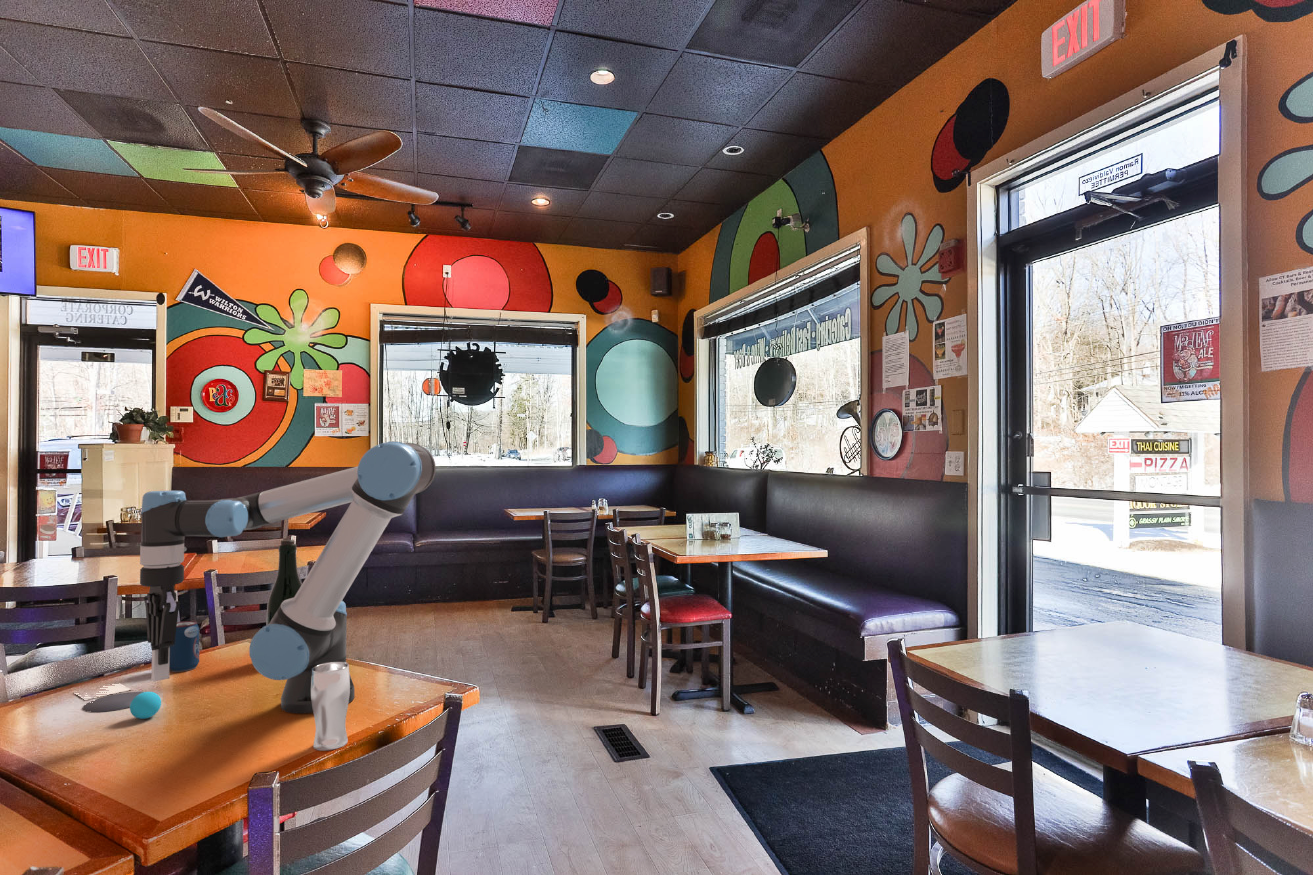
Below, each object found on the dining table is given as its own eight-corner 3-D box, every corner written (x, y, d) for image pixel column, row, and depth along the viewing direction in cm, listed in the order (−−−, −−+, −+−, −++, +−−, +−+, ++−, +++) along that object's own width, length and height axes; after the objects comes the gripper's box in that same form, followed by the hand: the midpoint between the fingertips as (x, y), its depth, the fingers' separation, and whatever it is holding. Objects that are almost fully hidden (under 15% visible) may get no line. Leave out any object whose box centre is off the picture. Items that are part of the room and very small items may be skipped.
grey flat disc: (162, 699, 165) (162, 698, 165) (93, 716, 155) (93, 715, 155) (142, 688, 173) (142, 688, 173) (75, 704, 163) (75, 703, 163)
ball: (165, 716, 154) (165, 691, 154) (135, 724, 150) (135, 698, 150) (155, 711, 158) (155, 686, 158) (126, 719, 153) (126, 693, 153)
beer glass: (324, 754, 134) (324, 674, 134) (303, 747, 138) (303, 668, 138) (357, 741, 140) (357, 664, 140) (336, 734, 143) (335, 659, 144)
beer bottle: (288, 667, 190) (288, 542, 191) (256, 664, 193) (256, 541, 194) (317, 656, 200) (317, 538, 201) (287, 653, 203) (287, 537, 204)
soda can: (202, 668, 190) (202, 622, 190) (171, 674, 185) (172, 627, 185) (195, 663, 194) (195, 618, 195) (164, 669, 189) (165, 623, 190)
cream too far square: (131, 690, 172) (131, 689, 172) (84, 700, 165) (84, 699, 165) (118, 683, 178) (118, 682, 178) (73, 693, 171) (73, 692, 171)
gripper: (195, 565, 148) (193, 680, 147) (171, 560, 156) (169, 669, 155) (152, 570, 142) (150, 690, 141) (130, 564, 150) (127, 677, 149)
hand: (160, 679), depth 148 cm, fingers closed
